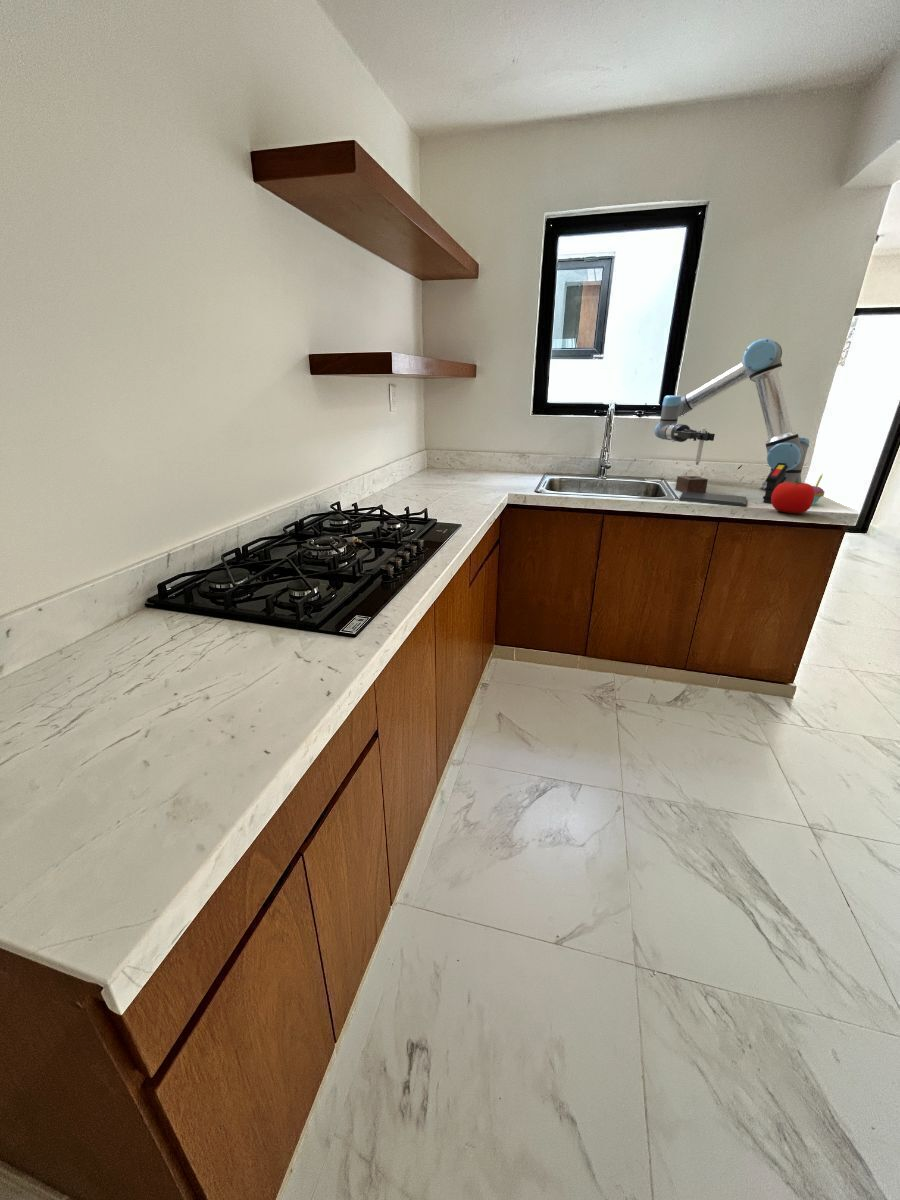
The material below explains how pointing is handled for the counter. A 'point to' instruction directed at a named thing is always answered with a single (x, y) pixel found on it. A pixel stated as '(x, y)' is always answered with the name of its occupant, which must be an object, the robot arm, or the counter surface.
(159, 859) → the counter surface
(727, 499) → the plate
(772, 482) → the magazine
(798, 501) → the tomato
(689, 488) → the pen block
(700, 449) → the stylus
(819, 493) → the cupcake
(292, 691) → the counter surface
